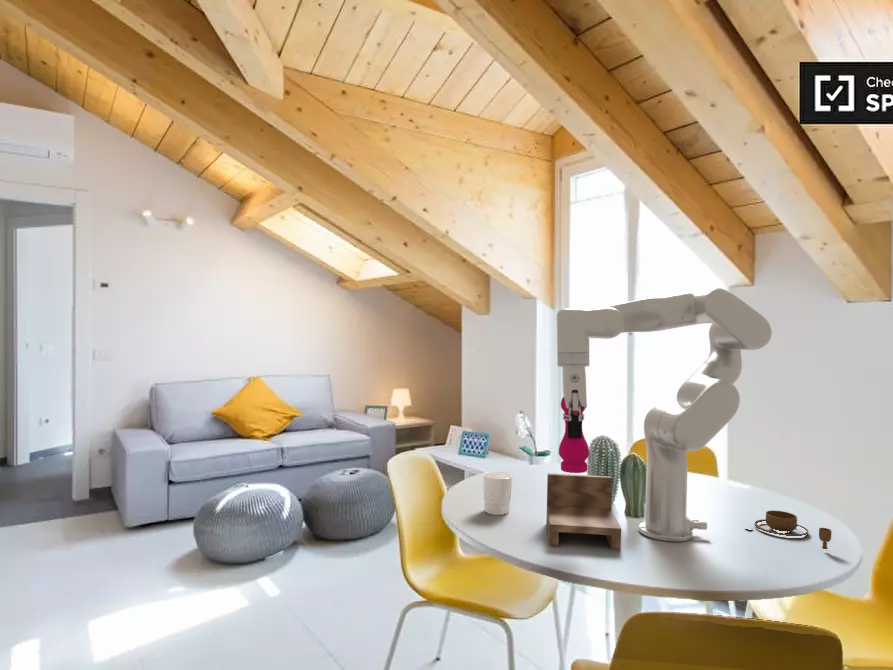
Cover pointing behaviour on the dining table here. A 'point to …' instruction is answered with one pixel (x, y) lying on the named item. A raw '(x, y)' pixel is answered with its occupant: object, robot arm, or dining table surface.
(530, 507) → the dining table surface
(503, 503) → the white cup
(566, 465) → the pepper mill
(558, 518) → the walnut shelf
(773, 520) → the place setting
